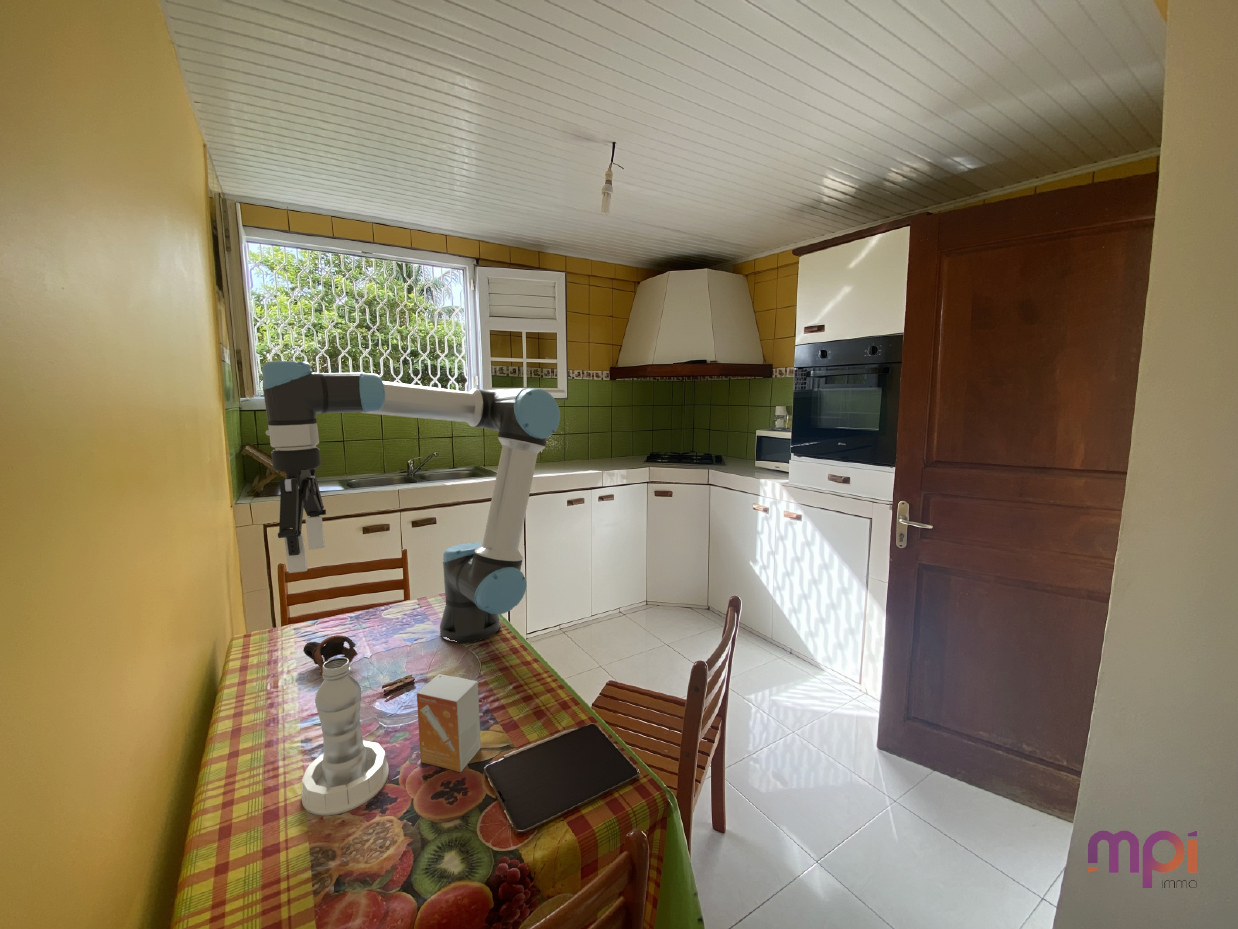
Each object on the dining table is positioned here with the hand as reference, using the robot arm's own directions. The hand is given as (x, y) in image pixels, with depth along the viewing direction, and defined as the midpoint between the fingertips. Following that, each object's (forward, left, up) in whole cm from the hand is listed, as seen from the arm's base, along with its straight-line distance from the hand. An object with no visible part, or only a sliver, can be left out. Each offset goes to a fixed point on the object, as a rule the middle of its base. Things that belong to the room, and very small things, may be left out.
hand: (308, 559), depth 96 cm
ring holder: (-9, +22, -31) cm, 39 cm away
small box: (-25, +20, -32) cm, 45 cm away
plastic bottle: (-9, +22, -31) cm, 39 cm away
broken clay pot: (+3, -18, -32) cm, 37 cm away
